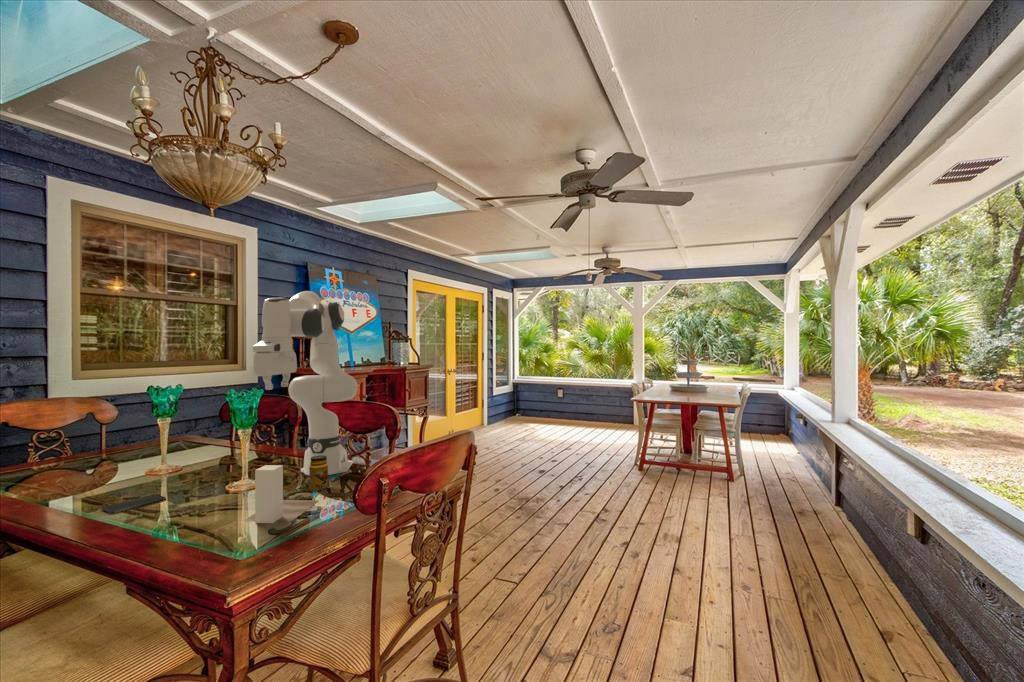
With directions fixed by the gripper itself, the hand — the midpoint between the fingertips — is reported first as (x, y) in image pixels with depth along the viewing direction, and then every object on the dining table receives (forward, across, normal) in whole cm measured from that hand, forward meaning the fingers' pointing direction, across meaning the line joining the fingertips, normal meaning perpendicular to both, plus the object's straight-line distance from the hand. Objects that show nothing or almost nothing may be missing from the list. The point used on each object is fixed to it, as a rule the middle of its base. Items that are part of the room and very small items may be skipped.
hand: (277, 388), depth 154 cm
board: (+37, +11, +8) cm, 40 cm away
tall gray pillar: (+36, +19, +8) cm, 41 cm away
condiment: (+37, -11, +8) cm, 40 cm away
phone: (+38, +5, -44) cm, 58 cm away
